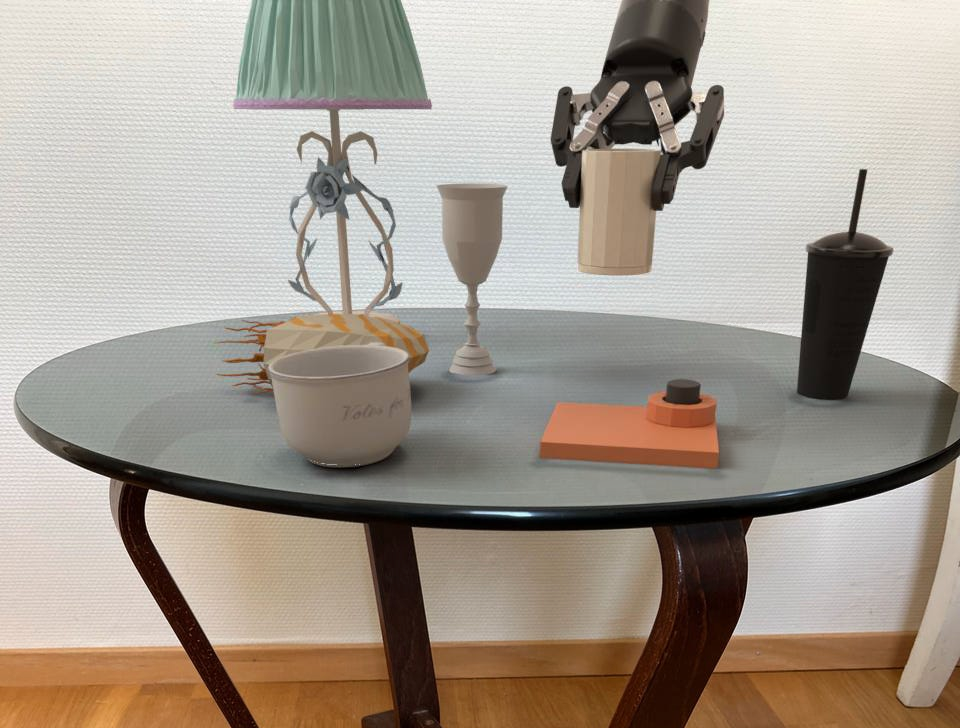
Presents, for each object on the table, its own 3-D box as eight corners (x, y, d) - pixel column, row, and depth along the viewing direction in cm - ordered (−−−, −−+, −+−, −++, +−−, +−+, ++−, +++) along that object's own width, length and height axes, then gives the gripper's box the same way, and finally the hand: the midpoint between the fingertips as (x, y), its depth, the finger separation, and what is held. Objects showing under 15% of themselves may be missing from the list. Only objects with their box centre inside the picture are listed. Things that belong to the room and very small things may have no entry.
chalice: (468, 381, 97) (467, 189, 88) (426, 370, 101) (421, 185, 93) (518, 370, 101) (523, 186, 93) (476, 359, 106) (476, 182, 97)
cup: (652, 265, 81) (662, 148, 77) (650, 276, 76) (660, 151, 72) (581, 264, 82) (586, 148, 78) (573, 274, 77) (579, 151, 73)
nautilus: (185, 408, 90) (266, 379, 103) (390, 414, 83) (449, 383, 96) (170, 321, 87) (255, 303, 99) (383, 321, 80) (445, 301, 93)
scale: (712, 425, 84) (716, 392, 82) (717, 469, 73) (722, 432, 72) (556, 417, 86) (558, 384, 84) (539, 458, 76) (540, 421, 74)
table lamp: (224, 350, 109) (169, -77, 90) (310, 317, 127) (280, -45, 108) (396, 364, 104) (377, -90, 84) (461, 327, 121) (457, -54, 102)
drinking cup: (859, 408, 89) (907, 172, 79) (776, 399, 91) (813, 170, 82) (866, 389, 95) (912, 168, 85) (788, 381, 98) (824, 166, 88)
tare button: (698, 400, 81) (700, 379, 80) (698, 408, 79) (701, 388, 78) (665, 398, 82) (667, 378, 81) (665, 407, 79) (667, 386, 79)
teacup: (362, 488, 70) (355, 379, 66) (249, 464, 74) (237, 361, 70) (456, 438, 80) (455, 342, 76) (353, 420, 85) (347, 329, 81)
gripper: (567, -1, 78) (518, 165, 74) (745, -8, 73) (702, 168, 69) (581, 76, 85) (537, 231, 81) (744, 73, 80) (706, 238, 76)
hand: (614, 201), depth 75 cm, fingers closed on cup, 6 cm apart
